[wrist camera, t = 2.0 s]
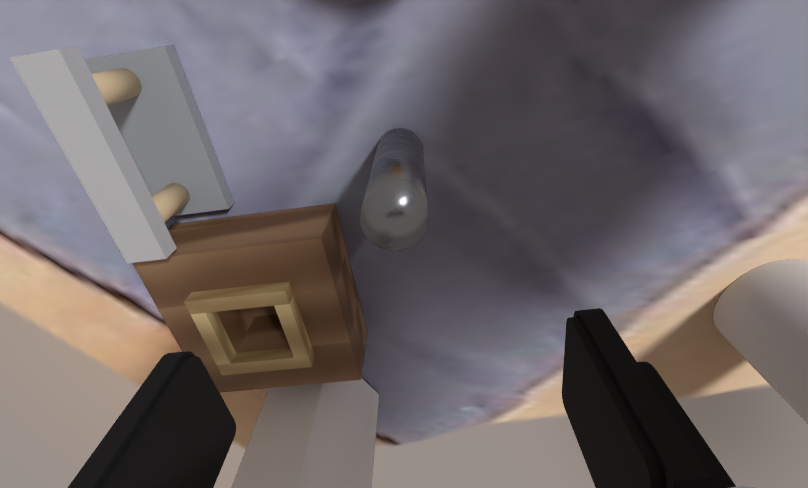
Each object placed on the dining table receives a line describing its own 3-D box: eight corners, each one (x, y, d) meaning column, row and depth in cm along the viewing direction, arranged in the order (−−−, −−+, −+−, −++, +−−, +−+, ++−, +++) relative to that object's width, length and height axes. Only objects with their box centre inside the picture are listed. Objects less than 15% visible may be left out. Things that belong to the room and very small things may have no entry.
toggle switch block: (172, 224, 29) (120, 270, 24) (335, 203, 28) (317, 246, 23) (231, 346, 35) (200, 404, 30) (367, 332, 34) (359, 390, 29)
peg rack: (73, 51, 24) (-27, 63, 18) (169, 35, 23) (96, 42, 18) (156, 219, 29) (98, 266, 24) (236, 209, 28) (195, 255, 23)
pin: (372, 131, 26) (353, 193, 17) (419, 125, 25) (424, 184, 17) (381, 176, 27) (366, 254, 18) (425, 170, 27) (432, 246, 18)
